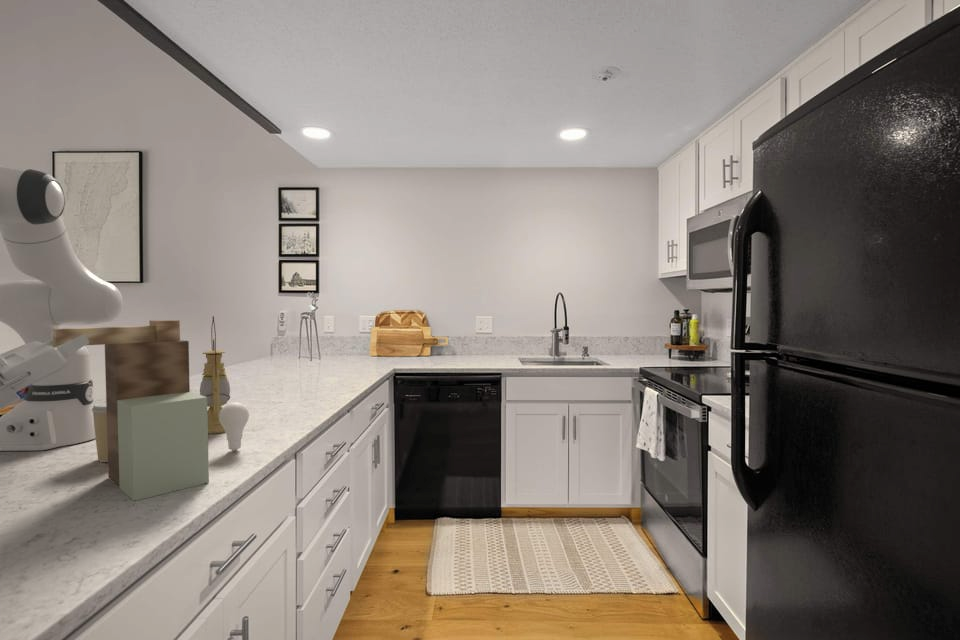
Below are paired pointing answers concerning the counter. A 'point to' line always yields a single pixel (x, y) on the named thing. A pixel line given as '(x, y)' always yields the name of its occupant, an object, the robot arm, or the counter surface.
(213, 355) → the lantern
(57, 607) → the counter surface
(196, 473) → the sage step
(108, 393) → the walnut shelf
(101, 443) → the coffee cup
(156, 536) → the counter surface
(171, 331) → the beech mallet
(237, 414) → the lightbulb
